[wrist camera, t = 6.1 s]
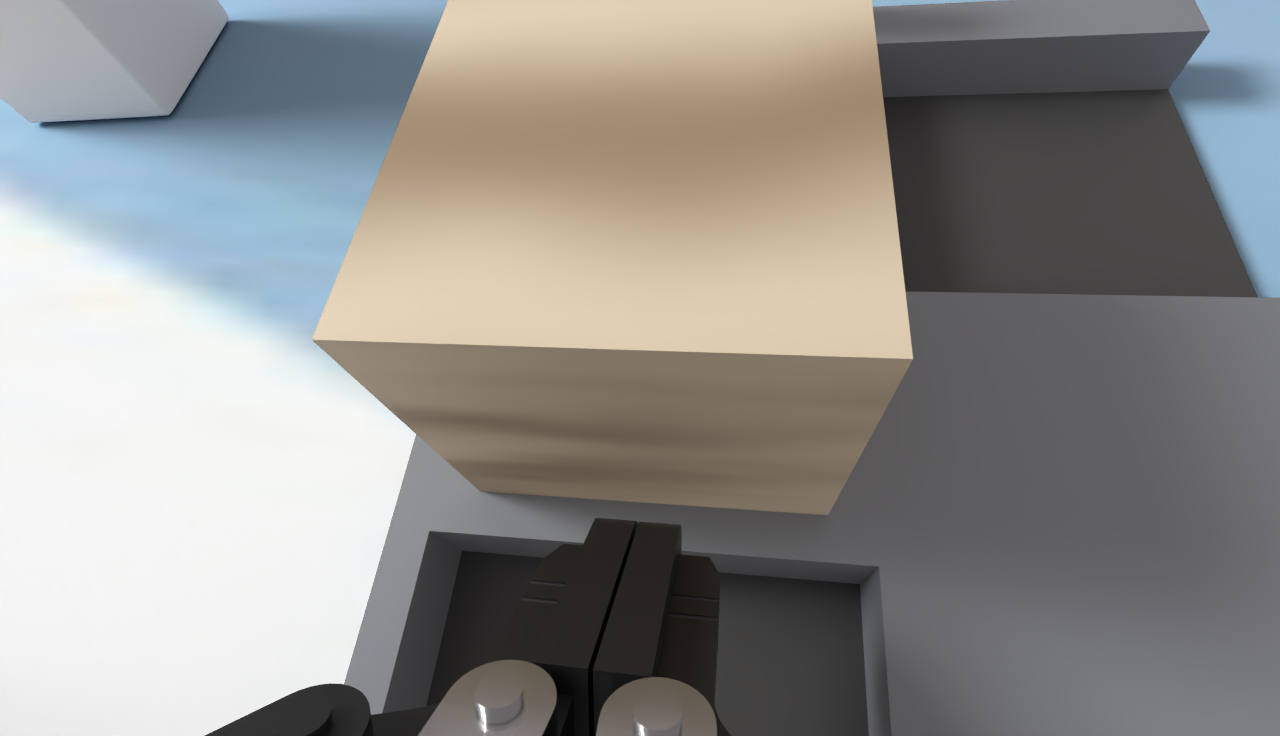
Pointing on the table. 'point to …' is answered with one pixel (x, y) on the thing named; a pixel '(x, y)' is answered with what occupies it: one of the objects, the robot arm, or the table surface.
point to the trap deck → (973, 435)
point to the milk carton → (102, 55)
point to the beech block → (636, 252)
